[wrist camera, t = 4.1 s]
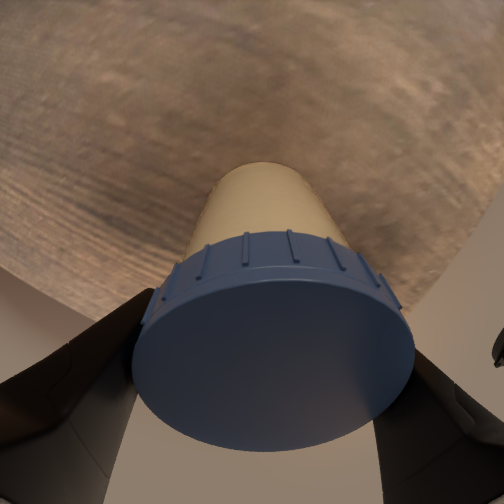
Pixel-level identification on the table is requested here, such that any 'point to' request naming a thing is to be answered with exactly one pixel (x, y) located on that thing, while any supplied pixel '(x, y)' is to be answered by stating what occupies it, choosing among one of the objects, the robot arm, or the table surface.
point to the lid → (272, 343)
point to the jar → (261, 207)
